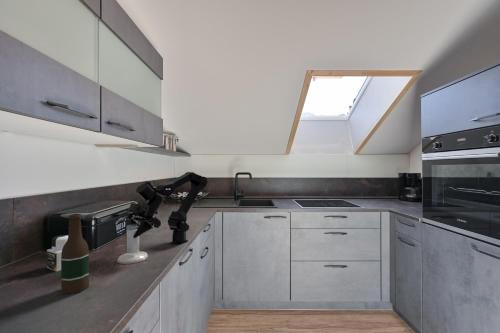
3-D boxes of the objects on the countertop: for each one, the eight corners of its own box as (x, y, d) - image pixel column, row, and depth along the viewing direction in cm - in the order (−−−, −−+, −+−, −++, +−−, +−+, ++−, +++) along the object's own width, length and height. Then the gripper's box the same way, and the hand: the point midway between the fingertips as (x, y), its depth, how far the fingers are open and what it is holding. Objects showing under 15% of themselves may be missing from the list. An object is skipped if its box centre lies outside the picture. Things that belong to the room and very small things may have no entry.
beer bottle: (67, 297, 75) (66, 217, 74) (55, 291, 79) (55, 215, 79) (94, 287, 81) (94, 213, 81) (82, 281, 85) (82, 211, 85)
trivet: (135, 251, 114) (135, 249, 114) (154, 256, 109) (154, 253, 109) (110, 261, 103) (110, 258, 103) (130, 266, 98) (130, 263, 98)
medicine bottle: (46, 268, 96) (46, 237, 96) (67, 261, 103) (66, 232, 103) (56, 271, 93) (55, 239, 93) (76, 265, 99) (76, 235, 99)
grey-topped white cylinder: (131, 249, 109) (130, 224, 108) (141, 249, 108) (141, 224, 108) (124, 253, 104) (124, 226, 104) (135, 253, 103) (135, 227, 103)
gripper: (127, 194, 114) (103, 223, 104) (154, 196, 104) (131, 229, 95) (143, 208, 121) (121, 237, 111) (169, 212, 111) (149, 244, 102)
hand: (130, 236), depth 105 cm, fingers closed on grey-topped white cylinder, 5 cm apart
